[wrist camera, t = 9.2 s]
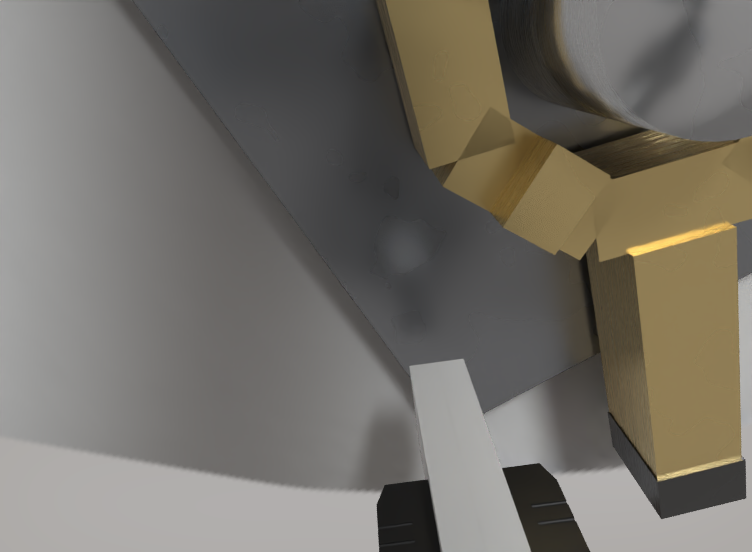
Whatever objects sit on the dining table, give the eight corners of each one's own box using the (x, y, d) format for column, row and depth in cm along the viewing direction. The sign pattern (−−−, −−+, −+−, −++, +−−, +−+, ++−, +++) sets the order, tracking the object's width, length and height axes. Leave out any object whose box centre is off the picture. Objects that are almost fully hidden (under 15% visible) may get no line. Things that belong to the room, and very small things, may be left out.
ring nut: (328, -177, 12) (317, -287, 8) (828, -358, 11) (1085, -578, 7) (501, 474, 20) (538, 577, 16) (801, 396, 19) (916, 486, 15)
